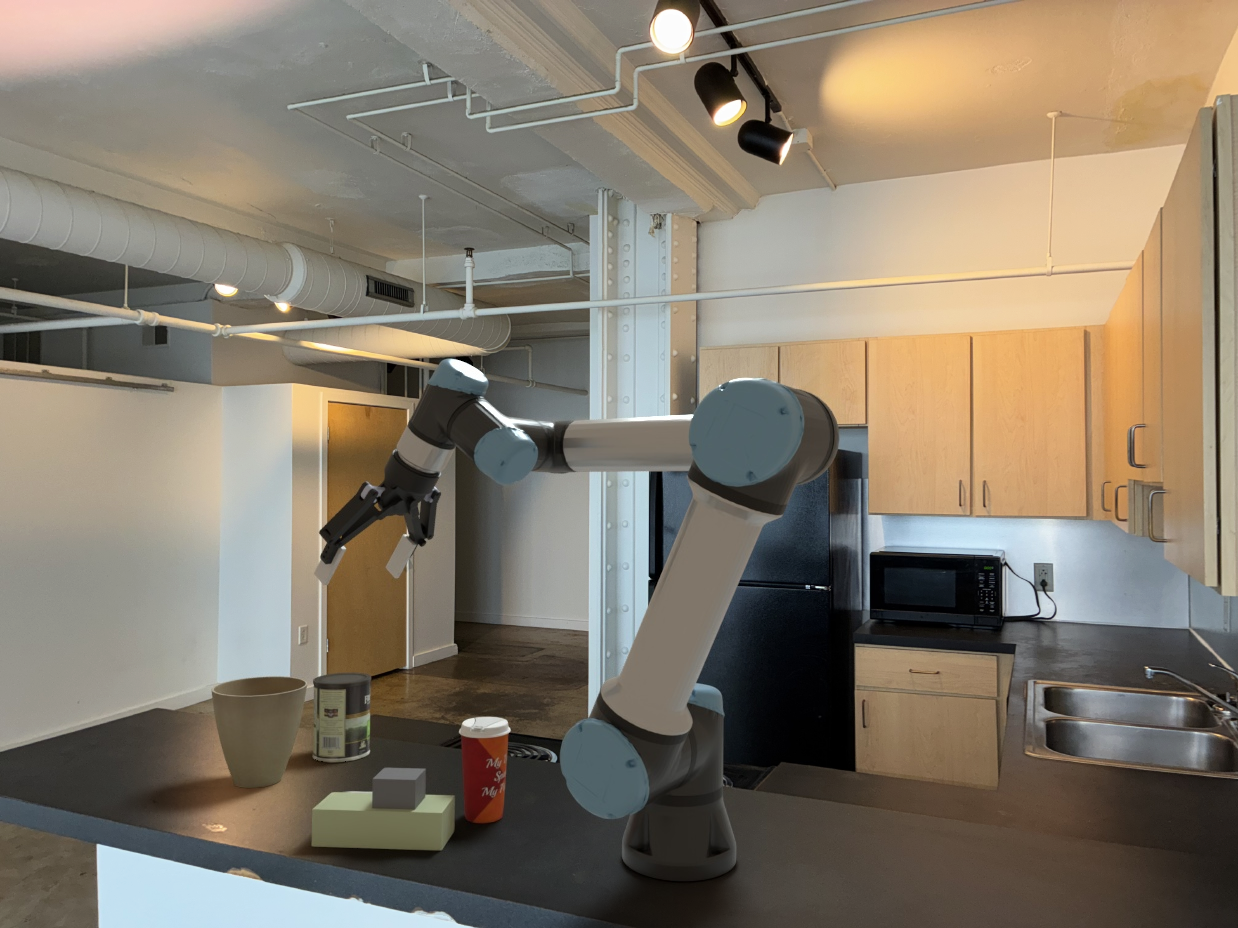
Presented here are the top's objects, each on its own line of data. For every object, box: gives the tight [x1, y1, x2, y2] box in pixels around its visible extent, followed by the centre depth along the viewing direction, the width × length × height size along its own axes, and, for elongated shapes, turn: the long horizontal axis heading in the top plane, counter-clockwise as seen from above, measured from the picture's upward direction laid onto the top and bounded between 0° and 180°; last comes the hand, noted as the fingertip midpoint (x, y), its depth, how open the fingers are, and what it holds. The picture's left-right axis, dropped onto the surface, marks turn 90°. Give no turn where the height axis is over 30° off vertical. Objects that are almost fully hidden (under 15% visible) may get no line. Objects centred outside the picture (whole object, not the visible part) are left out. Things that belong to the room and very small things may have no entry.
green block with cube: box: [311, 767, 456, 851], centre depth 129 cm, size 20×17×9 cm
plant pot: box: [211, 675, 308, 789], centre depth 148 cm, size 15×15×16 cm
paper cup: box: [458, 716, 512, 824], centre depth 132 cm, size 8×8×14 cm
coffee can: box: [312, 672, 372, 763], centre depth 163 cm, size 10×10×14 cm
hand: (357, 576), depth 133 cm, fingers open, 13 cm apart
